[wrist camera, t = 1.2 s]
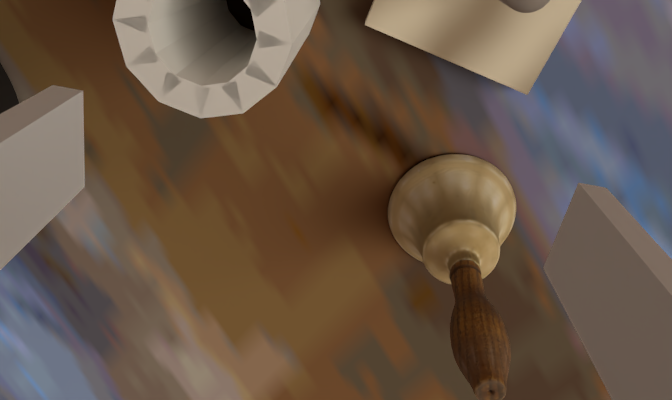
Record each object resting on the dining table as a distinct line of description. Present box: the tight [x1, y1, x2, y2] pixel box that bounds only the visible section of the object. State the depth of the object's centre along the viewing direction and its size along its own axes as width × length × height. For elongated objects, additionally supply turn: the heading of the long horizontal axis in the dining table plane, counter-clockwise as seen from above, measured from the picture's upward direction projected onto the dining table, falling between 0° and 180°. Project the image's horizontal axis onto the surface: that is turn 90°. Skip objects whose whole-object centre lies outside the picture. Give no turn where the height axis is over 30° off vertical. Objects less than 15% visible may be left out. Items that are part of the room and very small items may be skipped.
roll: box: [112, 0, 320, 118], centre depth 27 cm, size 7×7×12 cm
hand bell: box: [388, 154, 516, 400], centre depth 30 cm, size 8×8×16 cm
